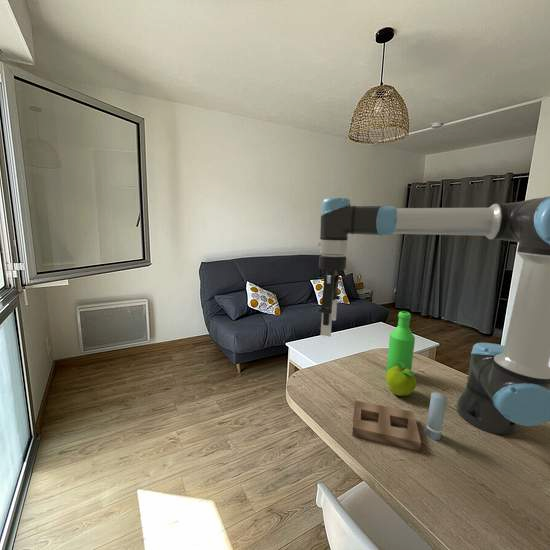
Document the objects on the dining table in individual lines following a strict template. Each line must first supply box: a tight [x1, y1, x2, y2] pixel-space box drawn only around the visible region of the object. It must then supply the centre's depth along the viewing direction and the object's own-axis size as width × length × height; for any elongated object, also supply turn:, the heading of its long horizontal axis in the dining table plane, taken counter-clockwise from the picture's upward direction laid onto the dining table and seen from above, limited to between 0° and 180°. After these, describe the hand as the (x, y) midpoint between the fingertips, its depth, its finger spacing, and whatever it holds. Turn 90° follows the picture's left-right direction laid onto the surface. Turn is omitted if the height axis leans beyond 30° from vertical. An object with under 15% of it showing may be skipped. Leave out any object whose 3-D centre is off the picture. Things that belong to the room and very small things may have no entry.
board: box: [351, 399, 422, 452], centre depth 83 cm, size 17×13×2 cm
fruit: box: [385, 362, 417, 397], centre depth 100 cm, size 9×9×10 cm
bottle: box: [386, 310, 416, 372], centre depth 111 cm, size 9×9×25 cm
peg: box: [425, 391, 447, 441], centre depth 80 cm, size 4×4×12 cm
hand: (328, 327), depth 85 cm, fingers open, 13 cm apart
